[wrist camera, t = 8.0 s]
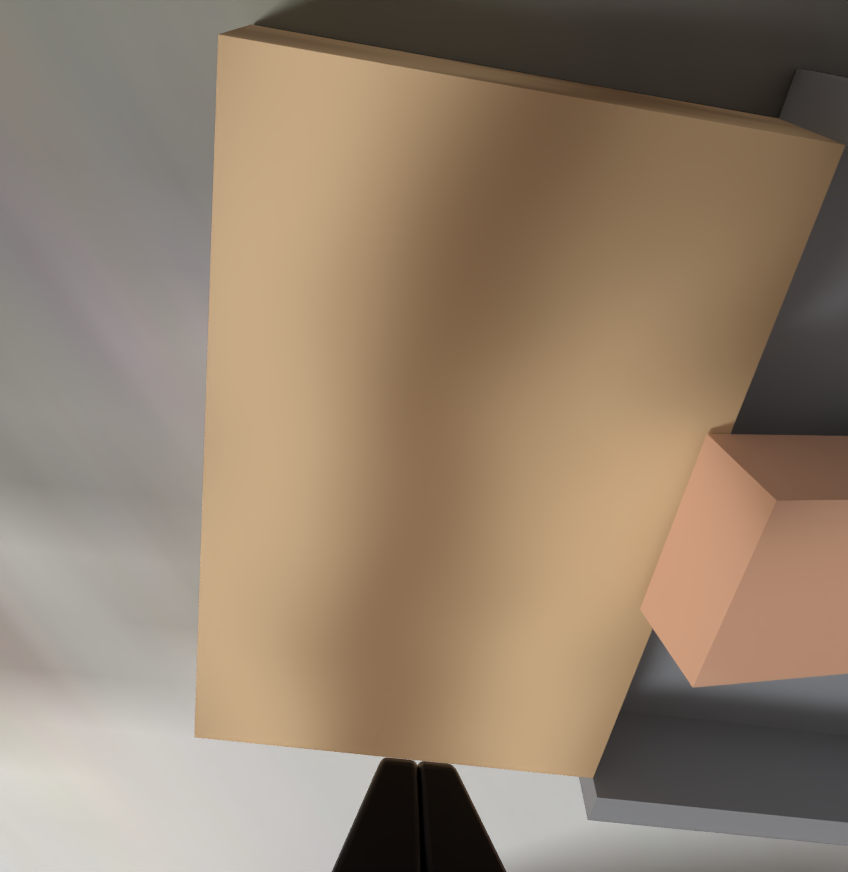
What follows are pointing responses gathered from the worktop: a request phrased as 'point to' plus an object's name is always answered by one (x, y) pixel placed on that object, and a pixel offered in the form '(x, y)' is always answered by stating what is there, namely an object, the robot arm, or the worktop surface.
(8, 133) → the worktop surface
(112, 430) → the worktop surface
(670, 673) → the tray
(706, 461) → the terracotta block
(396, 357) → the tan rectangular slab
